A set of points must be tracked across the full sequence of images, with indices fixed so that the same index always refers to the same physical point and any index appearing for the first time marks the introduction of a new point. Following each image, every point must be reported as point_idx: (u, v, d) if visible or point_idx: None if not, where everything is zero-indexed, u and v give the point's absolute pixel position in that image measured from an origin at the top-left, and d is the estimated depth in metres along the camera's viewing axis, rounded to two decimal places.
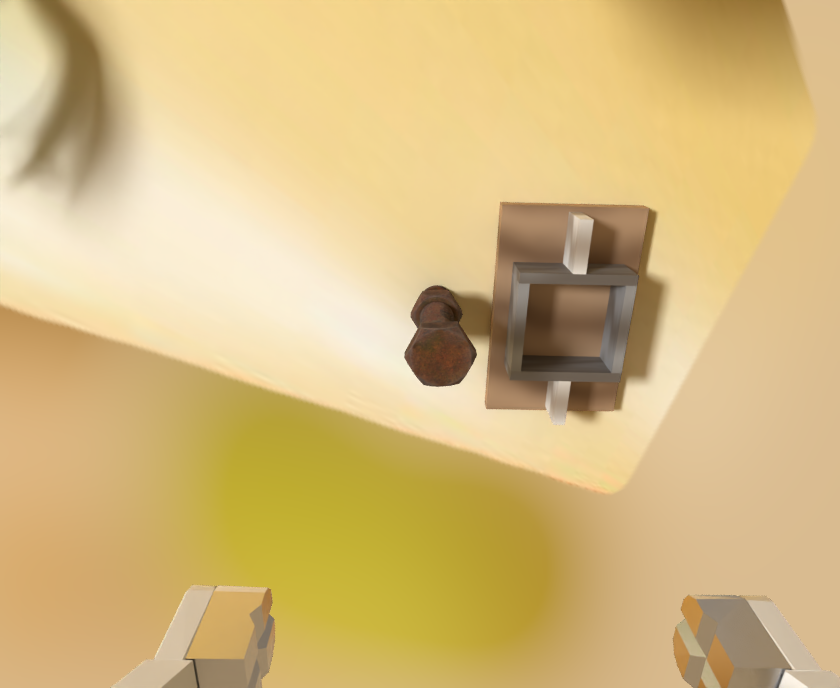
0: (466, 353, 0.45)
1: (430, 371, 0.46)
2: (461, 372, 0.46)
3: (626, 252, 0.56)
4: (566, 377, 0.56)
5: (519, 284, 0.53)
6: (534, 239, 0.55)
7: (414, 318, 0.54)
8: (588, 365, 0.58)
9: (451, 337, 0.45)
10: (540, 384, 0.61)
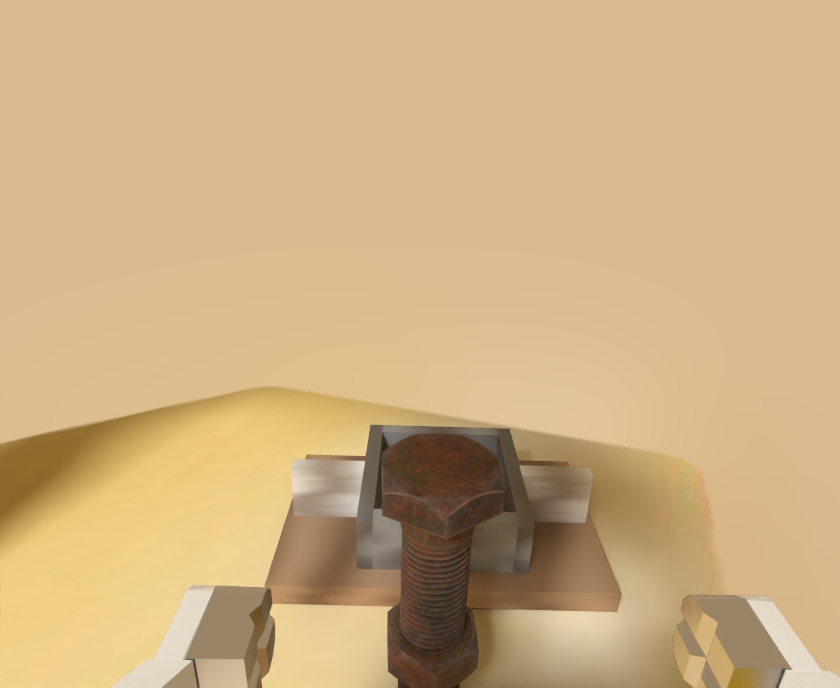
0: (429, 437, 0.26)
1: (469, 476, 0.24)
2: (466, 442, 0.26)
3: None
4: (514, 469, 0.40)
5: (374, 519, 0.35)
6: (325, 547, 0.38)
7: (437, 665, 0.26)
8: None
9: (399, 452, 0.25)
10: (552, 529, 0.40)
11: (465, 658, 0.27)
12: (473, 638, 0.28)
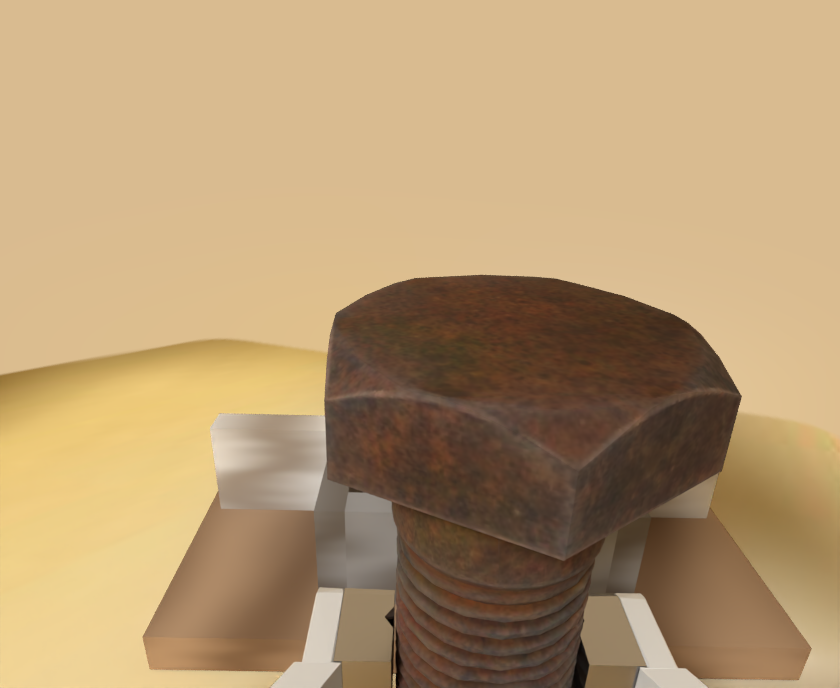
0: (469, 281, 0.10)
1: (616, 349, 0.07)
2: (571, 289, 0.09)
3: None
4: None
5: (348, 512, 0.19)
6: (266, 562, 0.22)
7: None
8: None
9: (388, 303, 0.09)
10: (654, 529, 0.24)
11: None
12: None
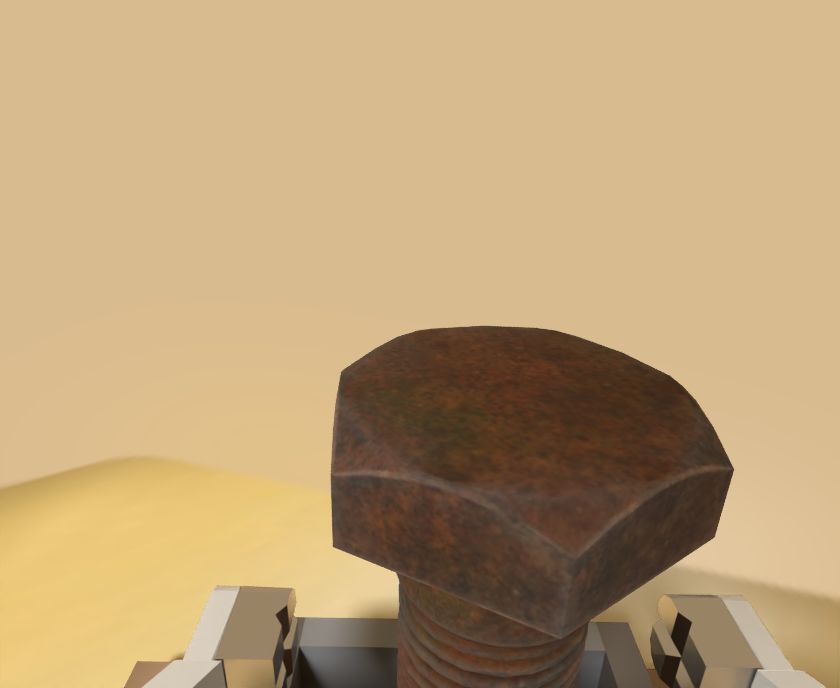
0: (471, 334, 0.10)
1: (613, 420, 0.07)
2: (570, 343, 0.10)
3: None
4: None
5: None
6: None
7: None
8: None
9: (391, 362, 0.09)
10: None
11: None
12: None
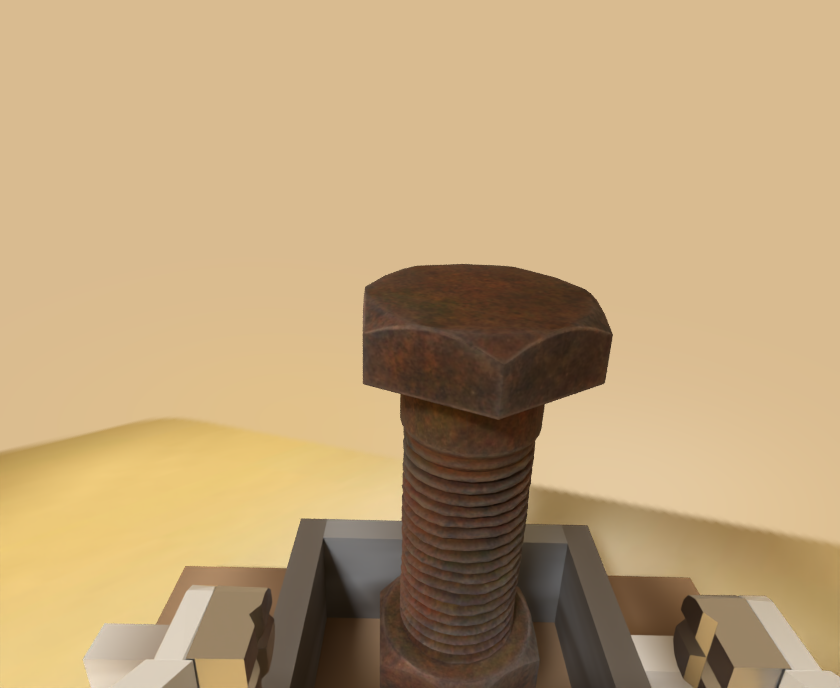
0: (454, 268, 0.14)
1: (539, 306, 0.12)
2: (522, 273, 0.14)
3: (277, 595, 0.23)
4: (621, 648, 0.17)
5: None
6: None
7: (468, 685, 0.14)
8: (573, 616, 0.20)
9: (399, 280, 0.13)
10: None
11: (517, 671, 0.15)
12: (530, 636, 0.16)
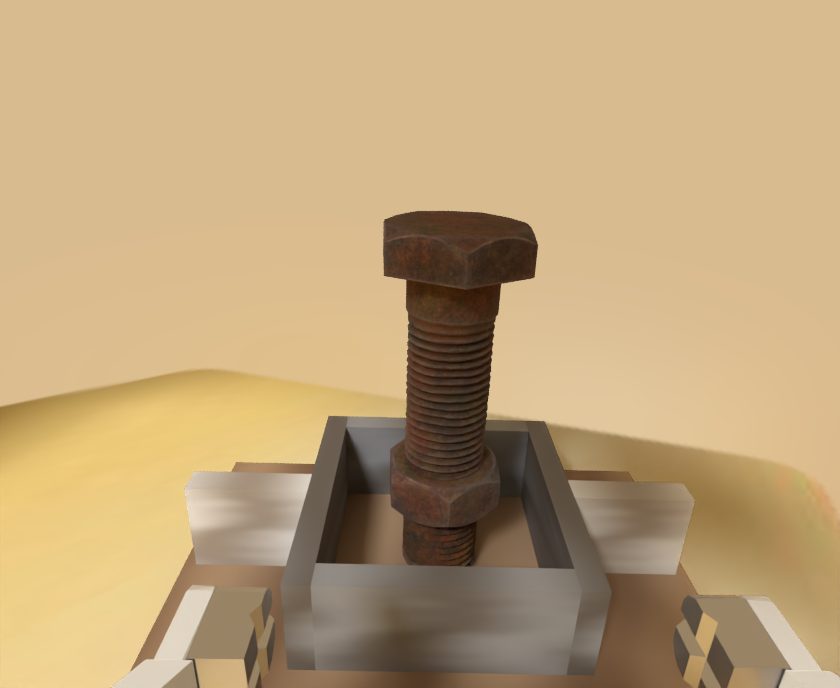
0: (441, 212, 0.22)
1: (493, 228, 0.19)
2: (486, 215, 0.21)
3: None
4: (560, 486, 0.24)
5: (314, 586, 0.19)
6: None
7: (451, 490, 0.21)
8: (531, 481, 0.27)
9: (405, 217, 0.20)
10: (623, 586, 0.24)
11: (484, 486, 0.22)
12: (494, 468, 0.23)
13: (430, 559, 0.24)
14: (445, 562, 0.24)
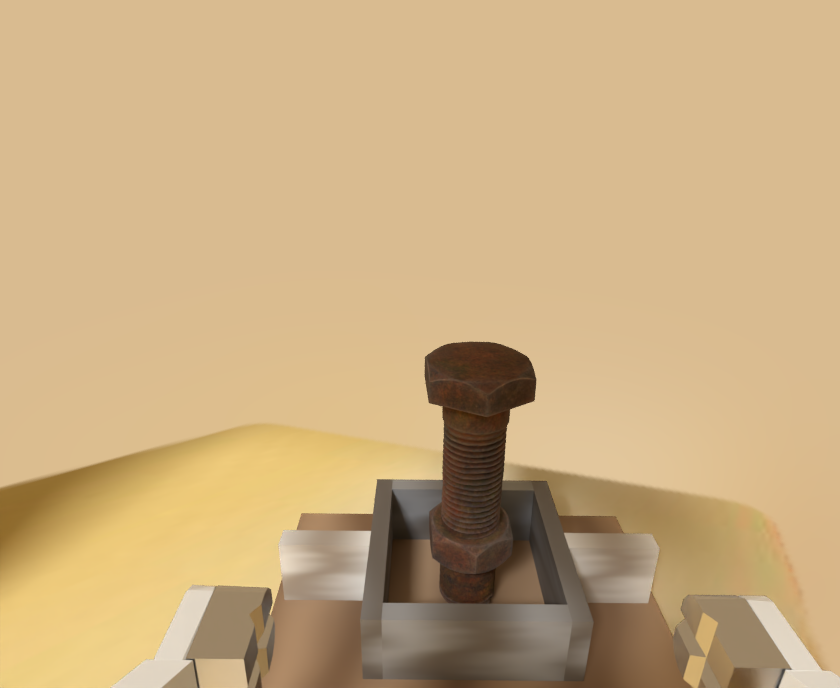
0: (466, 344, 0.30)
1: (504, 367, 0.27)
2: (499, 347, 0.29)
3: (360, 528, 0.39)
4: (558, 538, 0.32)
5: (384, 619, 0.27)
6: (322, 646, 0.30)
7: (477, 547, 0.29)
8: (536, 530, 0.35)
9: (441, 354, 0.28)
10: (607, 613, 0.32)
11: (501, 543, 0.30)
12: (508, 528, 0.31)
13: (461, 595, 0.32)
14: (472, 597, 0.32)
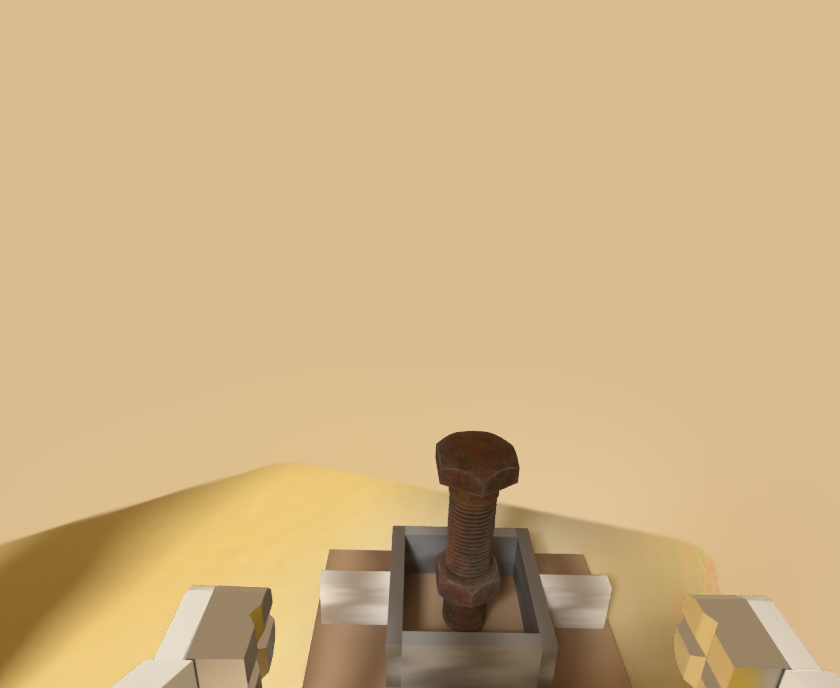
0: (467, 434, 0.39)
1: (496, 458, 0.36)
2: (492, 437, 0.39)
3: (378, 563, 0.48)
4: (535, 579, 0.41)
5: (403, 644, 0.36)
6: (353, 661, 0.39)
7: (473, 587, 0.39)
8: (519, 569, 0.45)
9: (448, 443, 0.38)
10: (572, 637, 0.42)
11: (491, 584, 0.39)
12: (496, 571, 0.40)
13: (460, 622, 0.41)
14: (468, 624, 0.41)
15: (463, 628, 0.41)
